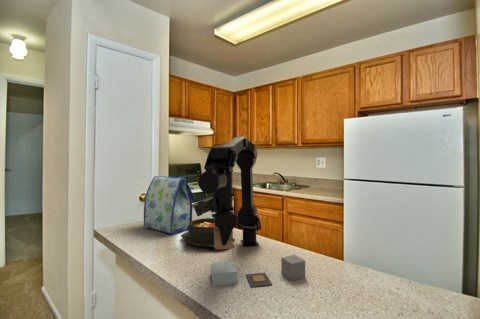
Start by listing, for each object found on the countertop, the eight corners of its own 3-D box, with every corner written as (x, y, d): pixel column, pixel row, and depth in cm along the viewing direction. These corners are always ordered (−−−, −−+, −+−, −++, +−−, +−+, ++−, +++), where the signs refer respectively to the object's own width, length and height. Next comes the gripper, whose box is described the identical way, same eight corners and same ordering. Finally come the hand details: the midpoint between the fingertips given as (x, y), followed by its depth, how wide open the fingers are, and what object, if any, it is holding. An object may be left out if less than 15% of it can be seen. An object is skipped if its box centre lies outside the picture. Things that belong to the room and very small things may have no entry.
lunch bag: (196, 227, 124) (196, 176, 124) (171, 236, 110) (171, 178, 110) (166, 221, 136) (166, 174, 136) (140, 228, 122) (140, 176, 122)
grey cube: (281, 273, 75) (281, 257, 75) (294, 270, 77) (294, 254, 77) (291, 281, 70) (291, 263, 70) (305, 277, 73) (305, 260, 73)
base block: (211, 274, 75) (211, 263, 75) (233, 272, 76) (233, 261, 76) (212, 286, 68) (212, 273, 68) (237, 283, 69) (237, 271, 69)
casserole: (244, 242, 102) (244, 222, 102) (212, 256, 88) (212, 233, 88) (203, 231, 118) (203, 214, 118) (170, 241, 103) (170, 222, 103)
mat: (245, 275, 74) (245, 273, 74) (265, 273, 75) (265, 271, 75) (251, 287, 67) (251, 285, 67) (272, 285, 68) (272, 283, 68)
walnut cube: (213, 243, 74) (213, 227, 74) (230, 242, 75) (230, 226, 75) (215, 249, 69) (215, 232, 69) (232, 248, 70) (232, 231, 70)
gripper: (194, 185, 80) (195, 233, 80) (194, 194, 61) (195, 256, 61) (229, 185, 82) (229, 231, 82) (238, 193, 63) (238, 253, 63)
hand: (223, 241), depth 72 cm, fingers closed on walnut cube, 5 cm apart
